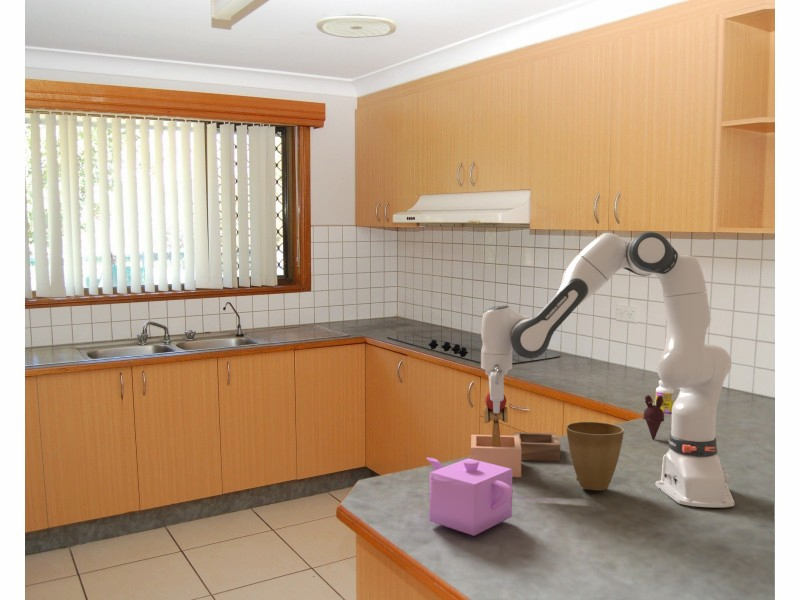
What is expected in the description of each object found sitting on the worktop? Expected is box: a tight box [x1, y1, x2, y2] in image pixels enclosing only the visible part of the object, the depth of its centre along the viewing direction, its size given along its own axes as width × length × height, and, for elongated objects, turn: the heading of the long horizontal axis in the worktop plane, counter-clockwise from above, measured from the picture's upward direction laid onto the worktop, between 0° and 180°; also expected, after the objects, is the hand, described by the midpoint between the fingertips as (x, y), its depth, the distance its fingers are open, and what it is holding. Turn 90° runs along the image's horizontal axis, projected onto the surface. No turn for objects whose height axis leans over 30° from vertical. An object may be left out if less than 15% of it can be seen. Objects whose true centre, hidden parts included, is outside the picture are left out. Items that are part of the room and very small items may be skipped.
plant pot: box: [565, 421, 625, 491], centre depth 191 cm, size 15×15×16 cm
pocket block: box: [513, 431, 561, 462], centre depth 221 cm, size 13×13×5 cm
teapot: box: [425, 457, 514, 537], centre depth 169 cm, size 15×25×14 cm, turn 48°
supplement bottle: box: [654, 379, 675, 414], centre depth 273 cm, size 7×7×13 cm
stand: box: [470, 434, 522, 478], centre depth 206 cm, size 14×14×8 cm
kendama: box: [483, 391, 509, 447], centre depth 206 cm, size 8×6×18 cm
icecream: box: [642, 395, 665, 441], centre depth 237 cm, size 7×7×15 cm
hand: (496, 409), depth 205 cm, fingers closed on kendama, 6 cm apart
